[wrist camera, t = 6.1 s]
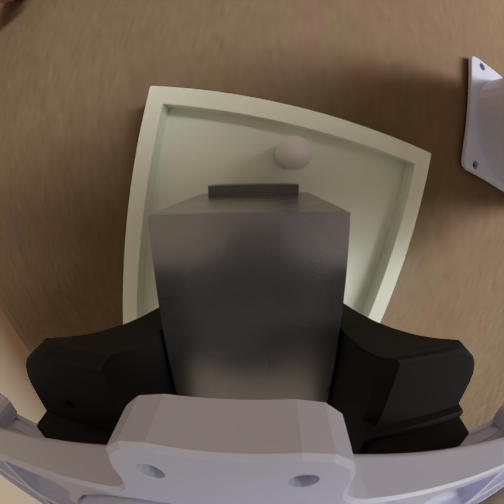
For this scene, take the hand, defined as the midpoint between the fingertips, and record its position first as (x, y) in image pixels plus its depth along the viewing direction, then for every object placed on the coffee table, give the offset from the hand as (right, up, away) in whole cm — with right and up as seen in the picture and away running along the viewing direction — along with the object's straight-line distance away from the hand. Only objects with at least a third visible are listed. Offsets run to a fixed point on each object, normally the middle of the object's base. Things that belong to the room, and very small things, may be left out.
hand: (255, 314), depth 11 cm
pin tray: (0, +1, +4) cm, 4 cm away
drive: (0, +1, +1) cm, 2 cm away
